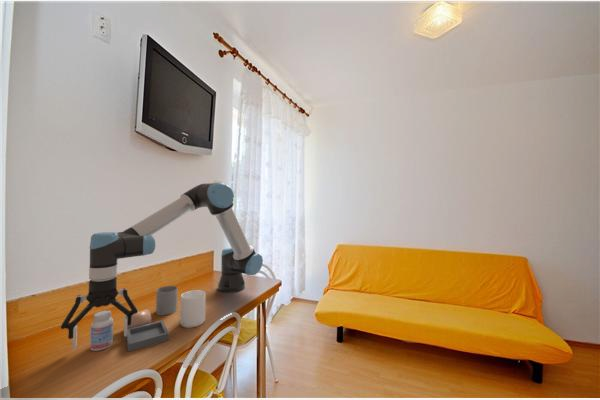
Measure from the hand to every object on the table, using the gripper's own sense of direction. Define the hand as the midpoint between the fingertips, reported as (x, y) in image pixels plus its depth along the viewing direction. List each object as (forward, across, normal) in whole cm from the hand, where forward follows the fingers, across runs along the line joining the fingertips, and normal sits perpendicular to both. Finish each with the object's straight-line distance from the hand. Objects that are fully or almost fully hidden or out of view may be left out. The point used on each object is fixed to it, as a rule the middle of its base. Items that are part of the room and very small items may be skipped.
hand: (101, 340), depth 86 cm
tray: (+2, -13, +3) cm, 14 cm away
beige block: (+2, -11, -8) cm, 14 cm away
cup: (+2, -23, -18) cm, 29 cm away
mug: (+2, -29, -1) cm, 29 cm away
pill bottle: (+2, 0, 0) cm, 2 cm away
